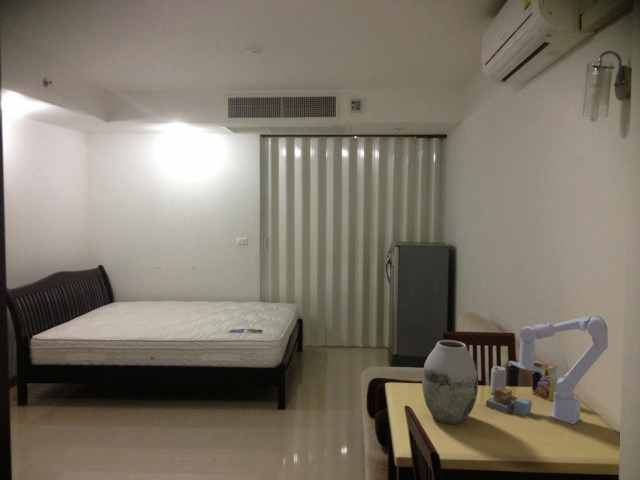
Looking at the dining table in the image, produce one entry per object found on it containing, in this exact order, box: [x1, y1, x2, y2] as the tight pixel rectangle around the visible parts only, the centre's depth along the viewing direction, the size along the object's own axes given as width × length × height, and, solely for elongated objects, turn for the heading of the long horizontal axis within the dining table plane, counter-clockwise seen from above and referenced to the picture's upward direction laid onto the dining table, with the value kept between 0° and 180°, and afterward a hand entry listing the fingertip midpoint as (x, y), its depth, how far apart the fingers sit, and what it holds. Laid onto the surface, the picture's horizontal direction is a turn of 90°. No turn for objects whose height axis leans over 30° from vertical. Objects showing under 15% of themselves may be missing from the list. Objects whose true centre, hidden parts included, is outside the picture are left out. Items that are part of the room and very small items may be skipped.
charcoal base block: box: [485, 396, 514, 414], centre depth 197 cm, size 9×9×3 cm
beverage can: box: [489, 365, 507, 395], centre depth 212 cm, size 6×6×12 cm
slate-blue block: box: [512, 396, 532, 417], centre depth 193 cm, size 5×5×5 cm
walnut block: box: [493, 387, 513, 405], centre depth 197 cm, size 5×5×5 cm
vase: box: [421, 339, 479, 425], centre depth 185 cm, size 21×21×30 cm
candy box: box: [531, 360, 557, 402], centre depth 209 cm, size 9×4×15 cm, turn 28°
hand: (525, 386), depth 196 cm, fingers open, 7 cm apart
